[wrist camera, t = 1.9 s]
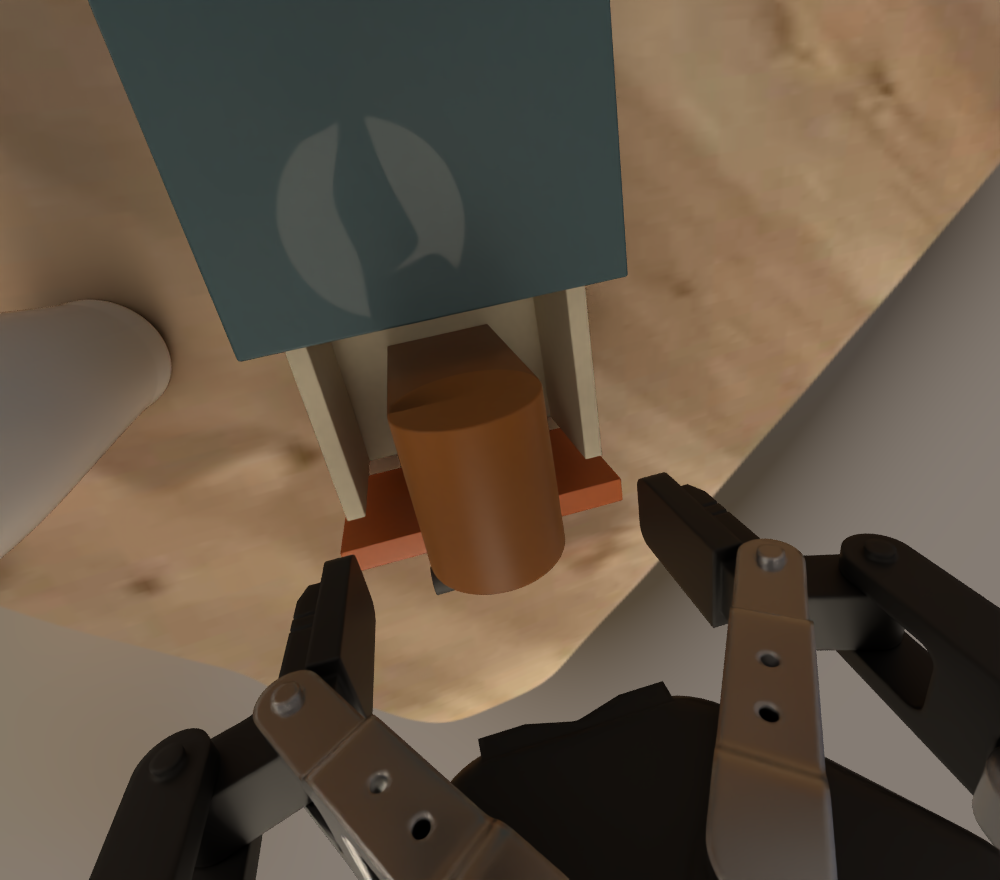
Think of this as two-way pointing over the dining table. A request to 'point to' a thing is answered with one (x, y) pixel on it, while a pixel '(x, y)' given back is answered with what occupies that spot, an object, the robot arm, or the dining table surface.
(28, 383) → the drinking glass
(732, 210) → the dining table surface
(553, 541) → the bread
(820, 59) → the dining table surface
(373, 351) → the drawer
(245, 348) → the cabinet
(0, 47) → the dining table surface
